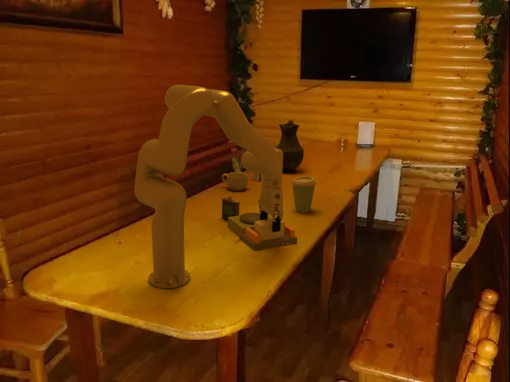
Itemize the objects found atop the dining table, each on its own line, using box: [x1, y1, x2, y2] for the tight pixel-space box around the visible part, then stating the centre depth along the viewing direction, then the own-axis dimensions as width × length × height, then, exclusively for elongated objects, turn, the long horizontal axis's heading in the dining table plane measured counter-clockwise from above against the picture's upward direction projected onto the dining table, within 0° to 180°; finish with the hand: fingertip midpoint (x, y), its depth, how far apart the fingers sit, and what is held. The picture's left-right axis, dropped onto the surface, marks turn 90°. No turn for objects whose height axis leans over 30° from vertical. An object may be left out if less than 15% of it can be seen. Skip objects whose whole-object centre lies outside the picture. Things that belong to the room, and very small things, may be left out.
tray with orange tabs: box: [227, 212, 298, 251], centre depth 183 cm, size 26×18×5 cm
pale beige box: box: [254, 219, 286, 241], centre depth 176 cm, size 5×10×6 cm, turn 117°
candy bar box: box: [252, 172, 261, 182], centre depth 265 cm, size 11×5×16 cm, turn 155°
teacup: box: [221, 171, 249, 192], centre depth 245 cm, size 14×11×8 cm
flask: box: [221, 195, 241, 222], centre depth 198 cm, size 9×3×11 cm, turn 50°
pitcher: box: [275, 119, 305, 174], centre depth 282 cm, size 17×21×30 cm
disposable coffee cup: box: [291, 175, 317, 214], centre depth 212 cm, size 11×11×15 cm
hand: (269, 227), depth 176 cm, fingers open, 9 cm apart
